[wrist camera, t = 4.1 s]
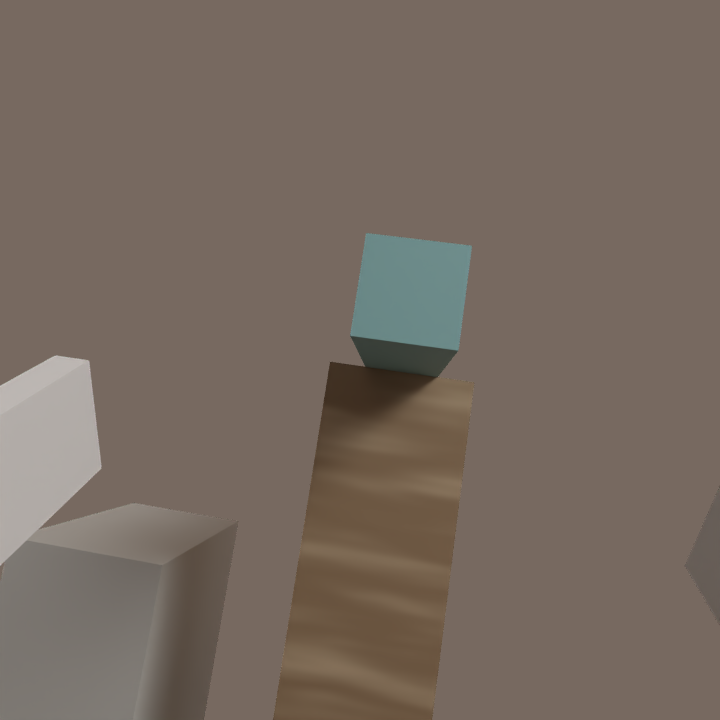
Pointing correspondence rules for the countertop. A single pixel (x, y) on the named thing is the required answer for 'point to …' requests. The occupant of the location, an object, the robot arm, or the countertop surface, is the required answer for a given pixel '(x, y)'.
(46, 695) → the step block
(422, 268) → the teal block
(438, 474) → the oak block
